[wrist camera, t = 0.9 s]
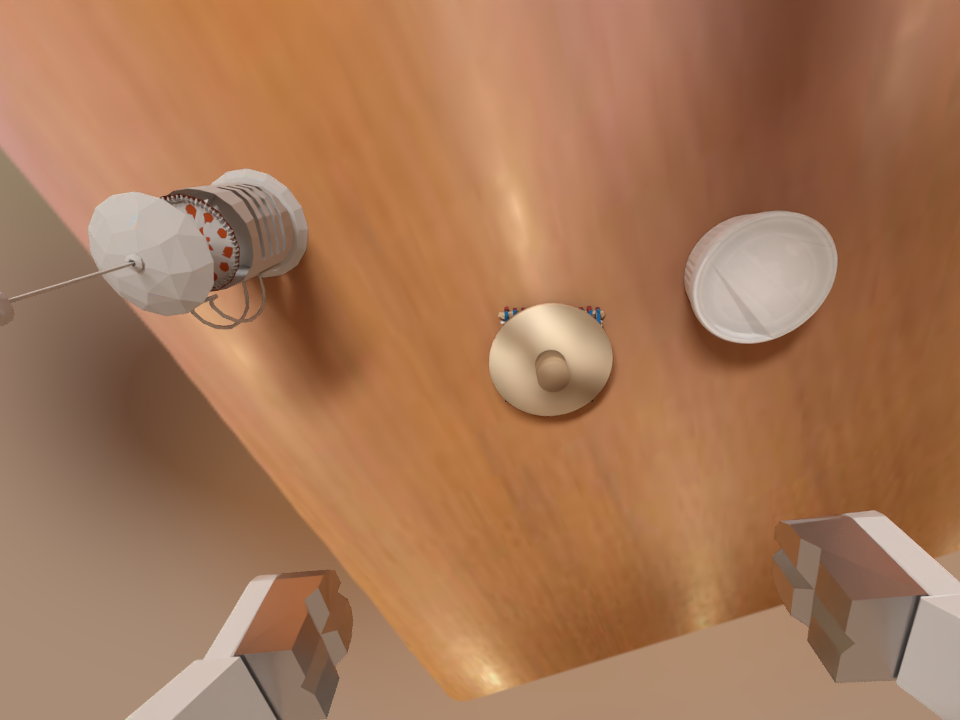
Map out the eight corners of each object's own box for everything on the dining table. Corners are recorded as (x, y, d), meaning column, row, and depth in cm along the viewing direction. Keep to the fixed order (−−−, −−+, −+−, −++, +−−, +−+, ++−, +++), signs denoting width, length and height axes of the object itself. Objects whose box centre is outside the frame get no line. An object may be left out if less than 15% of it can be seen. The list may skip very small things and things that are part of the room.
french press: (274, 151, 39) (-40, 151, 16) (335, 276, 43) (155, 411, 21) (181, 191, 41) (-220, 240, 18) (249, 307, 45) (-5, 463, 23)
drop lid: (528, 280, 41) (530, 292, 38) (635, 338, 43) (647, 354, 40) (468, 380, 46) (466, 399, 43) (567, 429, 48) (573, 450, 45)
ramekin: (653, 309, 44) (672, 328, 39) (704, 189, 39) (732, 195, 34) (760, 335, 44) (792, 358, 39) (823, 221, 40) (867, 231, 35)
